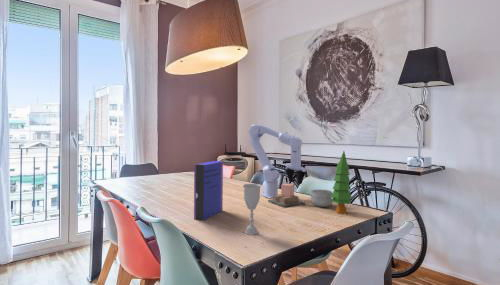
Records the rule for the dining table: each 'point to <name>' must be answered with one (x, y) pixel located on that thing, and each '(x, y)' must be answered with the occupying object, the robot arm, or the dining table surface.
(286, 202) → the base
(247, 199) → the chalice
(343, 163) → the decorative tree
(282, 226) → the dining table surface
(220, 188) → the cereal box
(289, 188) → the coral block
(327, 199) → the teacup
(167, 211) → the dining table surface
